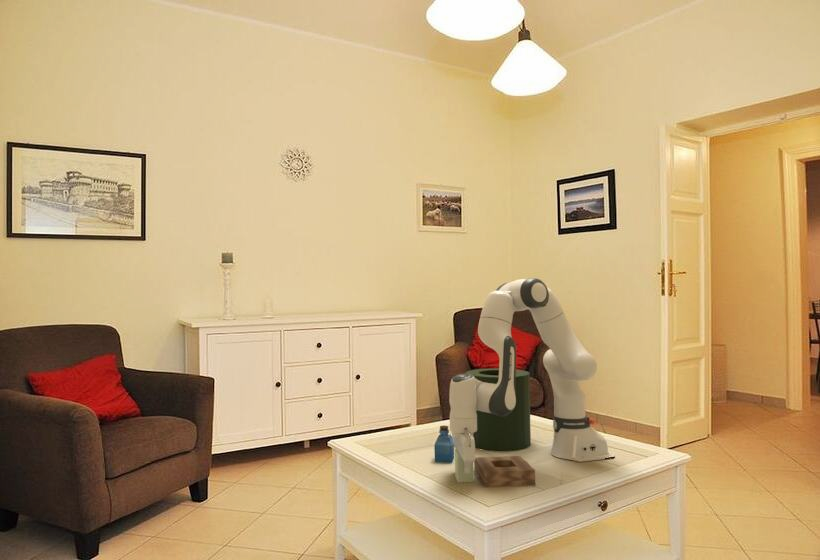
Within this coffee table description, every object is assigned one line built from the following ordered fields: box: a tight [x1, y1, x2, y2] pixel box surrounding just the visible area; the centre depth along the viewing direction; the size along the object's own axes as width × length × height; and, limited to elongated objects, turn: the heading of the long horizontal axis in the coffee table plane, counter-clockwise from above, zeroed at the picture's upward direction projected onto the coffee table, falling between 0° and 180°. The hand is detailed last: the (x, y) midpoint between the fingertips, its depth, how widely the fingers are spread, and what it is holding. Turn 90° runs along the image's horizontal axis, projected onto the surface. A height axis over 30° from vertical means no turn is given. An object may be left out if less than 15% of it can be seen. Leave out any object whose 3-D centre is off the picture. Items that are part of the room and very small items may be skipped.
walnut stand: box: [473, 455, 536, 488], centre depth 185 cm, size 16×16×4 cm
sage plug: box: [454, 449, 474, 483], centre depth 184 cm, size 5×5×9 cm
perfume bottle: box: [434, 425, 455, 464], centre depth 205 cm, size 6×6×12 cm
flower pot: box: [465, 367, 532, 453], centre depth 228 cm, size 25×25×28 cm
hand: (464, 468), depth 184 cm, fingers open, 8 cm apart
